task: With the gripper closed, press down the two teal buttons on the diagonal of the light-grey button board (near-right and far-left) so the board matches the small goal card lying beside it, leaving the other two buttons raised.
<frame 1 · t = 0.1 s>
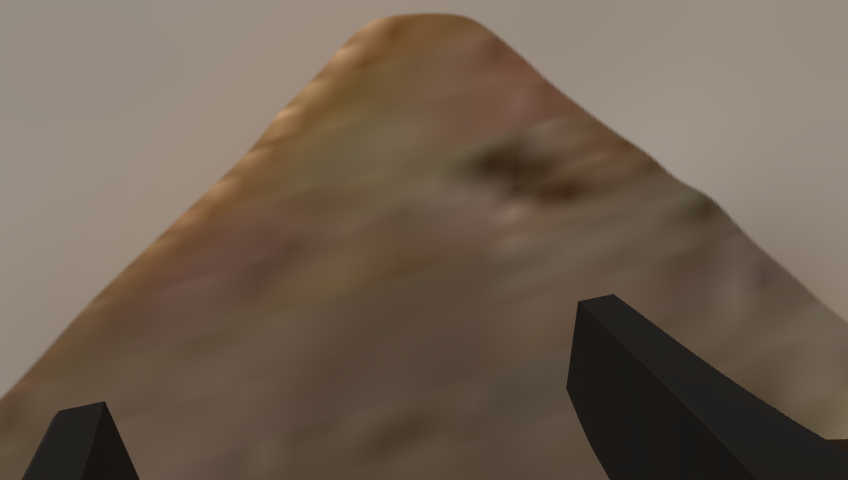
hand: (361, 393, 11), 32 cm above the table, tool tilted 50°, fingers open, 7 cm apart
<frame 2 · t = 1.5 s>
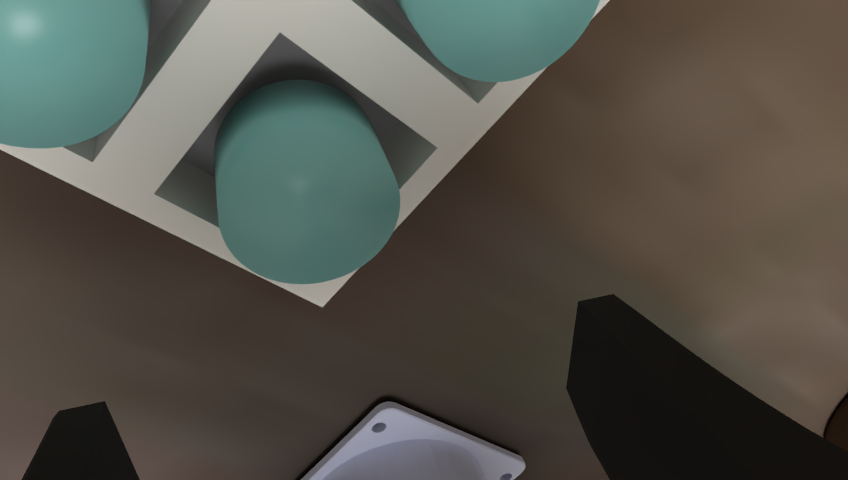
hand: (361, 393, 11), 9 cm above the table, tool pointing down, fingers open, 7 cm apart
button b: (33, 19, 13), point 3 cm above the table, slide at 0.0 cm
button a: (304, 182, 16), point 3 cm above the table, slide at 0.0 cm
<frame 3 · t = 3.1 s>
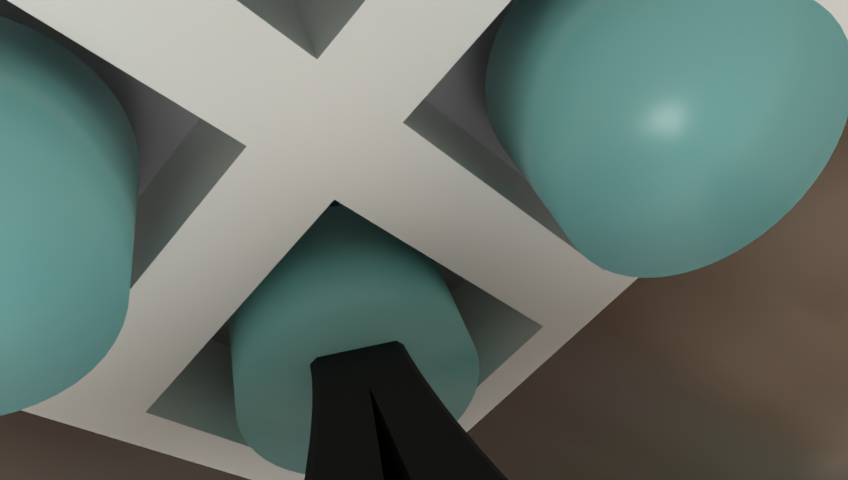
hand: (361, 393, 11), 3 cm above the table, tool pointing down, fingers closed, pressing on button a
button c: (653, 105, 10), point 3 cm above the table, slide at 0.0 cm
button a: (348, 341, 12), point 2 cm above the table, slide at -1.2 cm, touching gripper
button board: (300, 58, 11), on the table
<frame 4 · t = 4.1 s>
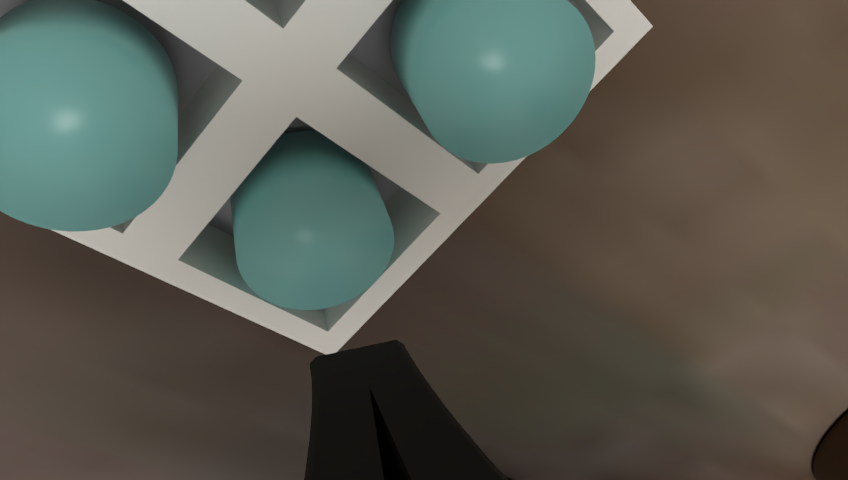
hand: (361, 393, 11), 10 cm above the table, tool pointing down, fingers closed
button b: (74, 114, 14), point 3 cm above the table, slide at 0.0 cm
button c: (488, 58, 16), point 3 cm above the table, slide at 0.0 cm
button a: (310, 220, 18), point 2 cm above the table, slide at -1.2 cm
button board: (277, 33, 17), on the table
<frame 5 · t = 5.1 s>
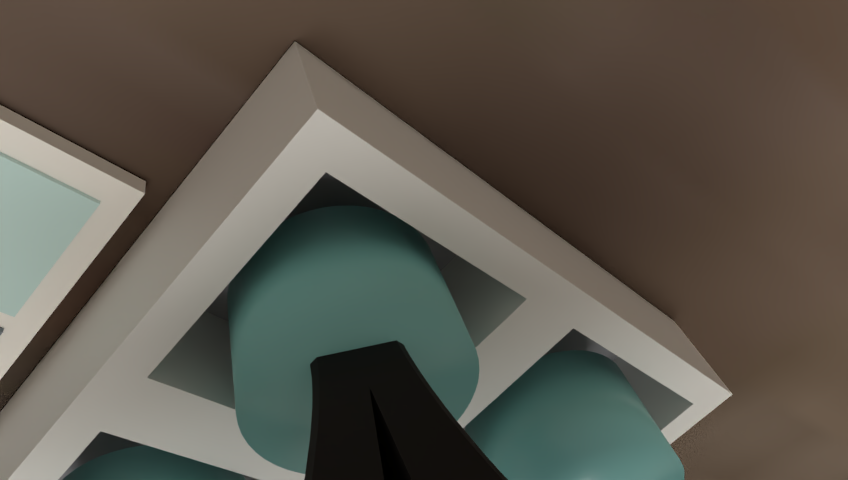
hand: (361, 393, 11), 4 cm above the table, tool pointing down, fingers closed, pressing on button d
button c: (569, 458, 15), point 3 cm above the table, slide at 0.0 cm
button d: (348, 340, 12), point 3 cm above the table, slide at -0.4 cm, touching gripper
button board: (344, 394, 17), on the table
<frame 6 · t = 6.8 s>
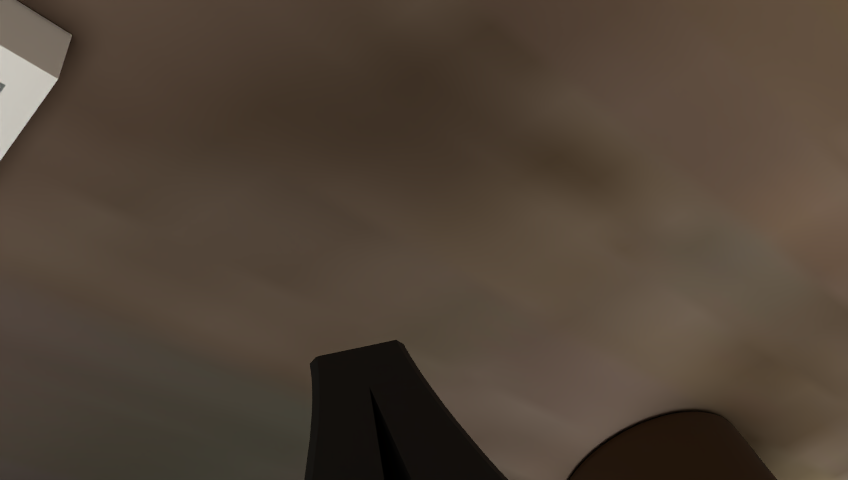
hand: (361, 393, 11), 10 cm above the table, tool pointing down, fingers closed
olive oil: (646, 472, 35), on the table
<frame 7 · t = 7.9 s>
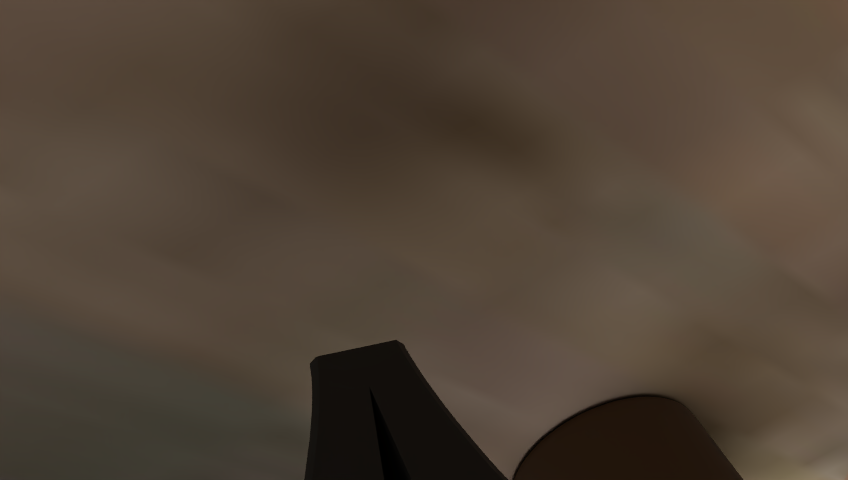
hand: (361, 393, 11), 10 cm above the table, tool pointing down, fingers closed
olive oil: (602, 460, 34), on the table
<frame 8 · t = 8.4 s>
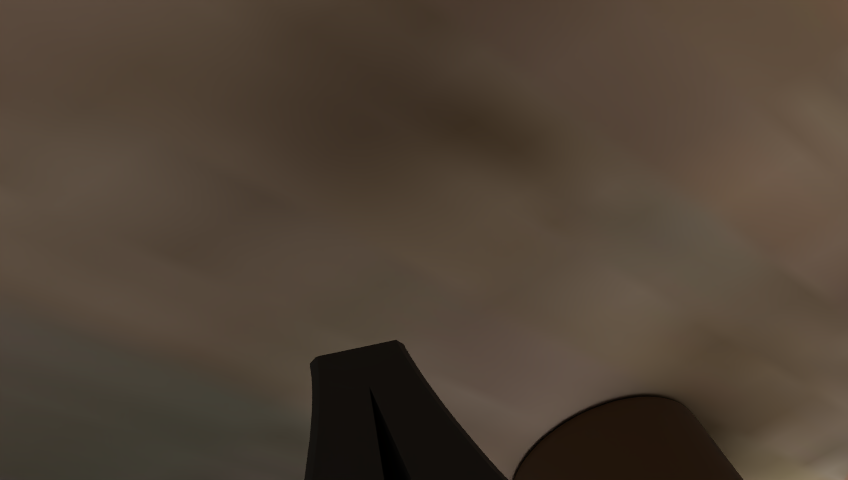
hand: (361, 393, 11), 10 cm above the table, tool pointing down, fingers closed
olive oil: (602, 460, 34), on the table
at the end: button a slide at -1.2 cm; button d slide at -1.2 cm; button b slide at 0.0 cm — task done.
